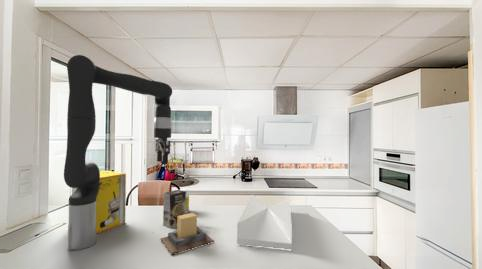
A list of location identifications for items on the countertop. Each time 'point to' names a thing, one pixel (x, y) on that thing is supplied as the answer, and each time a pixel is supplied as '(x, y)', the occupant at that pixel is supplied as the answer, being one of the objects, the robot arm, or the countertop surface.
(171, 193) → the coffee box
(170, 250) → the slot base
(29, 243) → the countertop surface
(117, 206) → the packaging box
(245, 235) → the building model
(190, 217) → the key block
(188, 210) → the supplement bottle
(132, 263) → the countertop surface
